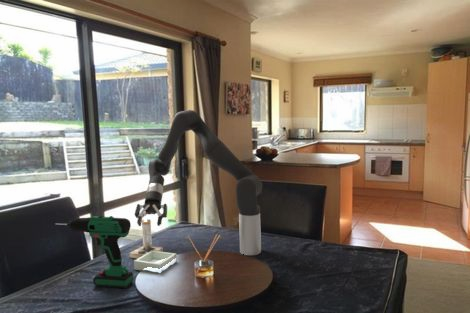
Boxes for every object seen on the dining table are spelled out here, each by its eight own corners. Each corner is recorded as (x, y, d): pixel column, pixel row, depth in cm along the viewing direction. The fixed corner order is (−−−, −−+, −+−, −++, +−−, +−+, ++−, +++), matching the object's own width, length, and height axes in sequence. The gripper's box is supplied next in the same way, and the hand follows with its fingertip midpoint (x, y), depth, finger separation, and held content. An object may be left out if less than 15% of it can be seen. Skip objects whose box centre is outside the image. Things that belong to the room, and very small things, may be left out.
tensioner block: (143, 249, 167) (143, 243, 166) (162, 252, 163) (162, 245, 163) (129, 257, 157) (129, 251, 157) (149, 260, 154) (149, 253, 153)
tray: (152, 258, 156) (151, 250, 155) (176, 261, 151) (176, 253, 151) (134, 269, 144) (133, 260, 144) (160, 273, 140) (159, 264, 140)
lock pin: (146, 252, 164) (145, 219, 162) (153, 253, 162) (152, 219, 161) (141, 254, 160) (140, 221, 159) (148, 255, 159) (147, 222, 157)
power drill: (127, 289, 127) (123, 218, 125) (54, 284, 133) (48, 216, 131) (135, 282, 133) (131, 214, 130) (64, 277, 139) (59, 212, 136)
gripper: (137, 190, 171) (130, 221, 161) (167, 189, 171) (163, 220, 160) (141, 199, 177) (135, 229, 167) (170, 198, 176) (166, 229, 166)
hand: (148, 225), depth 164 cm, fingers open, 8 cm apart
